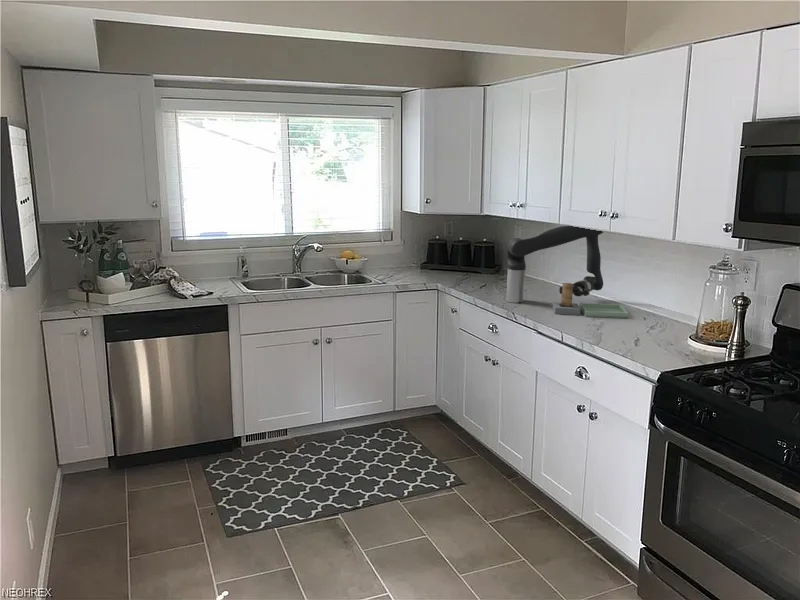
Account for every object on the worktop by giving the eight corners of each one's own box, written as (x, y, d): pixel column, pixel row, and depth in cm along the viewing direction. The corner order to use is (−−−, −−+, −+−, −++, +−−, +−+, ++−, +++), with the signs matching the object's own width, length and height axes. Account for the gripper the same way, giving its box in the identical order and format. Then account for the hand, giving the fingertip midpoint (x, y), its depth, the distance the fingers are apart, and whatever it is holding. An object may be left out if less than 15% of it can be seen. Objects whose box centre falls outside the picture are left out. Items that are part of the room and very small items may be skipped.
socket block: (552, 308, 332) (552, 302, 331) (576, 309, 331) (576, 303, 330) (554, 313, 320) (555, 307, 320) (580, 314, 319) (580, 308, 318)
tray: (579, 307, 333) (580, 303, 333) (620, 309, 331) (620, 304, 331) (585, 316, 316) (585, 311, 315) (628, 318, 314) (628, 313, 313)
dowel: (560, 310, 328) (562, 282, 325) (570, 310, 328) (572, 283, 325) (561, 312, 323) (563, 284, 320) (571, 312, 323) (573, 285, 320)
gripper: (568, 279, 341) (556, 283, 329) (595, 282, 333) (583, 287, 320) (567, 293, 343) (555, 298, 330) (594, 297, 335) (582, 302, 322)
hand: (569, 293), depth 325 cm, fingers open, 8 cm apart
